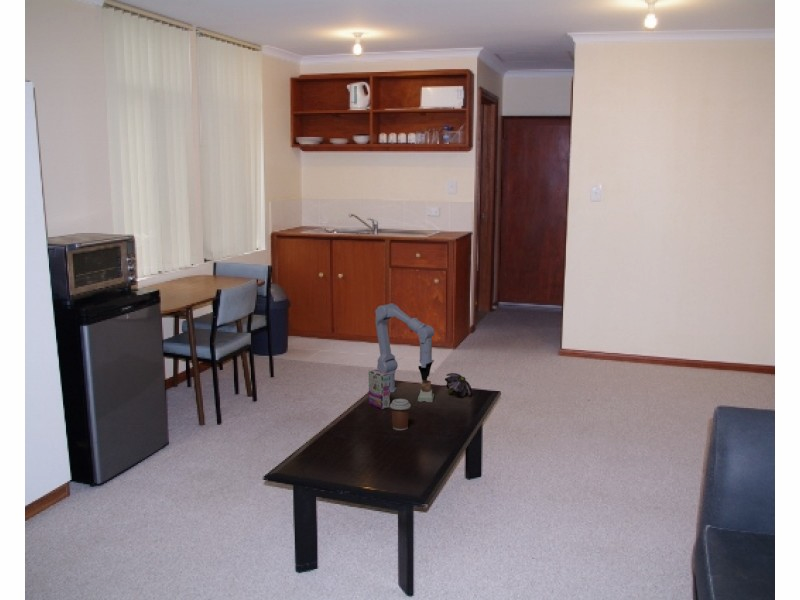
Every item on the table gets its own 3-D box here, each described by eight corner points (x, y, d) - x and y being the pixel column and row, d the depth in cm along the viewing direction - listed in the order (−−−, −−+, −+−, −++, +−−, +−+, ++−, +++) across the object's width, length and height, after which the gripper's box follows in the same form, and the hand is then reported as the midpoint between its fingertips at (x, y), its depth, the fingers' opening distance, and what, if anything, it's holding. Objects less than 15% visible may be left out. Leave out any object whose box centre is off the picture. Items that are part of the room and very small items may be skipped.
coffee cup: (399, 422, 317) (399, 396, 315) (415, 427, 311) (415, 400, 309) (385, 428, 310) (385, 401, 308) (401, 433, 305) (401, 405, 302)
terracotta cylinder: (421, 391, 348) (421, 382, 347) (422, 389, 352) (422, 380, 351) (430, 392, 347) (430, 383, 346) (431, 389, 351) (431, 380, 350)
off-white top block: (420, 397, 347) (420, 392, 347) (420, 393, 353) (420, 389, 352) (431, 397, 347) (431, 392, 346) (432, 394, 352) (432, 389, 352)
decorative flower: (463, 382, 345) (443, 367, 355) (453, 403, 347) (433, 388, 357) (481, 384, 355) (461, 370, 365) (472, 405, 357) (452, 390, 367)
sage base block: (417, 402, 348) (417, 397, 347) (419, 398, 354) (419, 393, 354) (432, 403, 346) (432, 398, 346) (433, 398, 353) (434, 393, 353)
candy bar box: (390, 407, 338) (390, 373, 335) (382, 409, 335) (381, 375, 332) (376, 401, 346) (376, 368, 344) (368, 403, 344) (368, 370, 341)
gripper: (432, 355, 339) (431, 382, 341) (435, 347, 353) (435, 374, 355) (417, 354, 340) (417, 382, 342) (421, 347, 354) (421, 374, 357)
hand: (425, 378), depth 349 cm, fingers open, 7 cm apart
